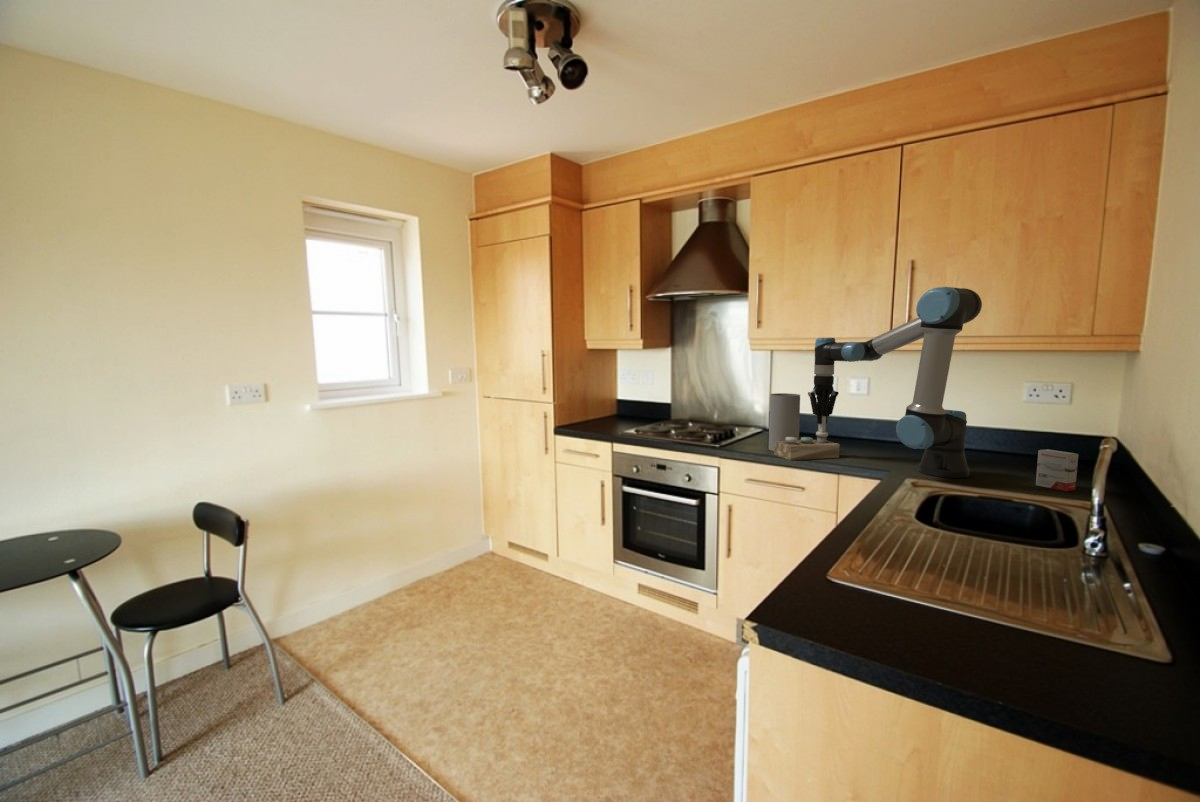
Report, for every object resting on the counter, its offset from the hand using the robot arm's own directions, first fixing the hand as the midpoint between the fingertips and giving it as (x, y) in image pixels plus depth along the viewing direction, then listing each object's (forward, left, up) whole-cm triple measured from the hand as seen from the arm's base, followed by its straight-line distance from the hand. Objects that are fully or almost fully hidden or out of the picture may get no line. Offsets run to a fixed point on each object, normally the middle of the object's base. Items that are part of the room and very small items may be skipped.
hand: (821, 431), depth 211 cm
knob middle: (0, +7, -10) cm, 12 cm away
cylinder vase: (+14, +9, -11) cm, 20 cm away
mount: (0, +7, -10) cm, 13 cm away
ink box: (-60, -42, -11) cm, 74 cm away
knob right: (0, 0, -8) cm, 8 cm away
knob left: (0, +14, -10) cm, 17 cm away
